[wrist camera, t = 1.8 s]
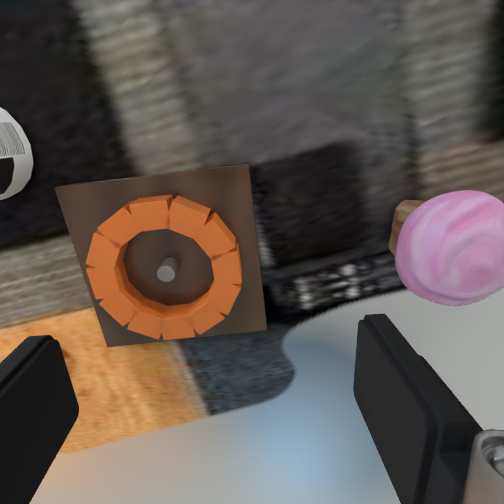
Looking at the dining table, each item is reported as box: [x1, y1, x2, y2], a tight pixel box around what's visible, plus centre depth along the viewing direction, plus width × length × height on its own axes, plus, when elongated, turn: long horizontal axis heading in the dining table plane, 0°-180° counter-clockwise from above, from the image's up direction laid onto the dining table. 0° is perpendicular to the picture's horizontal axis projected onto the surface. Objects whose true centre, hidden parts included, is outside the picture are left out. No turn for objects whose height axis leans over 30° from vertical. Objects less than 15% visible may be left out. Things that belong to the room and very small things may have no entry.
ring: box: [86, 195, 242, 340], centre depth 30 cm, size 13×13×2 cm
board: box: [54, 163, 267, 347], centre depth 30 cm, size 17×17×3 cm
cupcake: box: [389, 190, 504, 306], centre depth 26 cm, size 9×9×10 cm
